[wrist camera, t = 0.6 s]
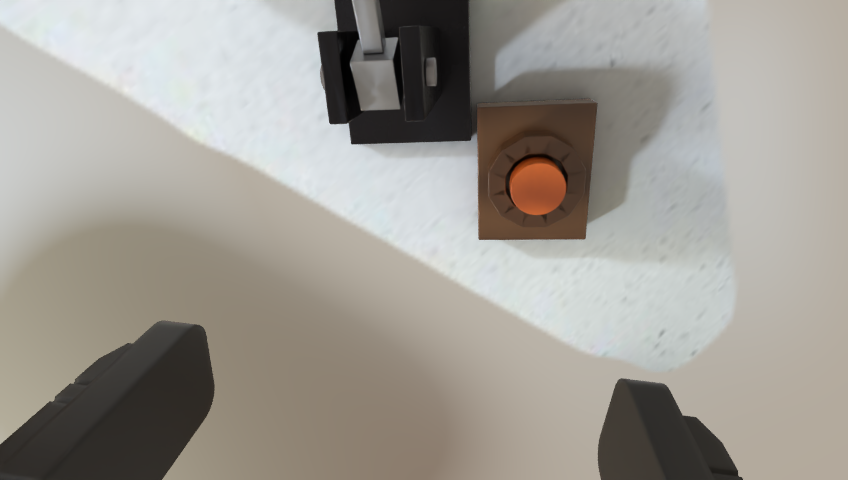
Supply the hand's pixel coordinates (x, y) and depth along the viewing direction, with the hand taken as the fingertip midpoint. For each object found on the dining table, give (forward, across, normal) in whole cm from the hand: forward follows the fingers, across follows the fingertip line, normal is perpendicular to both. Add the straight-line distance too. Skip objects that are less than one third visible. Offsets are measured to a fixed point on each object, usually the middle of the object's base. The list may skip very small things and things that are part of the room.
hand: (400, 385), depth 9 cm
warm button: (+25, -6, +3) cm, 26 cm away
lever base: (+29, +4, -4) cm, 29 cm away
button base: (+29, -6, +3) cm, 29 cm away
